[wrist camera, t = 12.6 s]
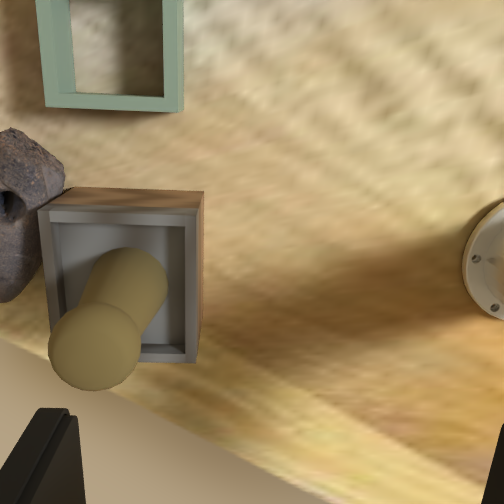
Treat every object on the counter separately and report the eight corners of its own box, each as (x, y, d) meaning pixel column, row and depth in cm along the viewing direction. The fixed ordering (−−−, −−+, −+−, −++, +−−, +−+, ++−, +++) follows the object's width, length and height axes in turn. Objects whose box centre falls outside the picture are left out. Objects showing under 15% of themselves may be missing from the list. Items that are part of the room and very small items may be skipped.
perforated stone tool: (42, 297, 44) (8, 334, 37) (-15, 278, 43) (-60, 312, 37) (85, 143, 40) (56, 155, 33) (22, 119, 39) (-21, 126, 32)
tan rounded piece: (83, 308, 37) (23, 395, 27) (97, 237, 35) (39, 301, 25) (159, 327, 38) (129, 418, 28) (177, 258, 36) (152, 329, 26)
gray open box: (204, 191, 41) (196, 215, 33) (202, 315, 45) (195, 363, 37) (74, 186, 41) (37, 210, 33) (85, 313, 45) (53, 360, 37)
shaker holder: (183, -24, 36) (176, -37, 32) (183, 109, 39) (178, 112, 35) (53, -31, 35) (30, -45, 31) (64, 104, 38) (45, 106, 35)
